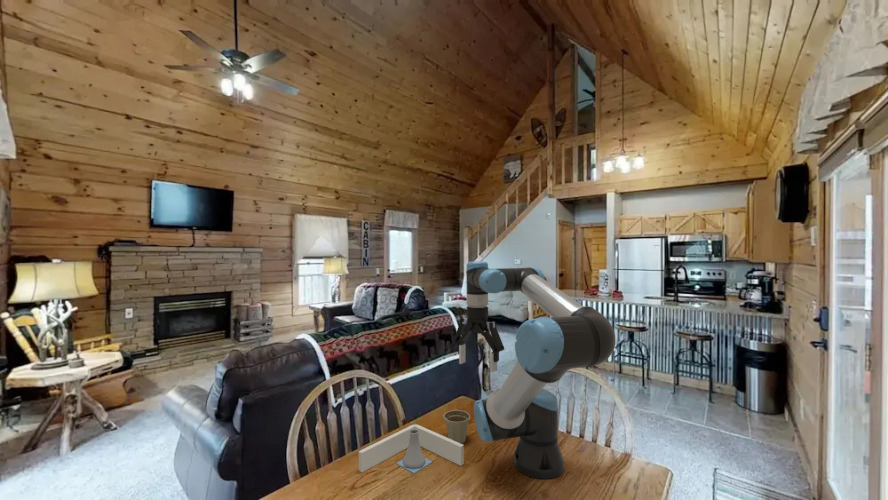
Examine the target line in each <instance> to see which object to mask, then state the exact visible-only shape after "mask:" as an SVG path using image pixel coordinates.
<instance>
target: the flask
mask: <svg viewBox="0 0 888 500" xmlns="http://www.w3.org/2000/svg"><path fill="white" fill-rule="evenodd" d="M409 433H410V441H409V445H408V448H406V452H405V454H404V458H403V459H404V460H403V459H402V460H403V463H404V466H405V467H409V468H418V467H422V466H423V465H424V464H425V462H426V461H425V458H426V457H425V456H424V453H423V450H422V447H421V446H420V444H419V438H418V433H419V430H418V429H411V430H410V431H409Z"/></svg>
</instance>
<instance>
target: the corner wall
mask: <svg viewBox="0 0 888 500" xmlns="http://www.w3.org/2000/svg"><path fill="white" fill-rule="evenodd" d="M411 429H418V430H419V433H418V438H419V444H420V447H421V448H423V449H425V450H428V451H429V452H432V453H433V454H436V455H438V456H440V457H442V458H444V459H446V460H448V461H450V462H452V463H454V464H455V465H458V466H463V465H464V463H465V461H464V459H465V456H464V455H465V453H464V448H465V445H464V443H461V444H460V443H458V442H456V441H454V440H451V439H449V438H448V436H445V435H442V434H441V433H440V434H439V433H438V432H435V431H433V430H430V429H428V428H426V427H424V426H422V425H420V424H417V423H413V424H412V425H409V426H407V427H405V428H403V429H401V430H399V431H397V432H395V433H393V434H391V435H389V436H387V437H385V438H382V439H380V440H379V441H376V442H375V443H372V444H370V445H369V446H367V447H364V448H362V449H361V450H358V471H359V472H360V473H363V472H365V471H367V470H369V469H371V468H373V467H374V466H377V465H379V464H381V463H382V462H384V461H386V460H388V459H389V458H391V457H393V456H395V455H397V454H398V453H400V452H402V451H404V450H405V449H406V450H407V448H408V445H409V441H410V433H409V431H410V430H411Z"/></svg>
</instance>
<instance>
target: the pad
mask: <svg viewBox="0 0 888 500" xmlns="http://www.w3.org/2000/svg"><path fill="white" fill-rule="evenodd" d="M424 458H425V461H426V462H425V464H424V465H423V466H422V467H418V468H409V467H405V466H404V463H403V460H404V458H403V459H401V460H400V461H397V462H396V465H398V466H399V467H401V468H402V469H405V470H406V471H408V472H409V473H411V474H413V475H415V474H416V473H418V472H420V471H421V470H422V469H424V468H426V467H428V466H429V465H431V464H432V463H433V461H432V460H430V459H429V458H427V457H424Z"/></svg>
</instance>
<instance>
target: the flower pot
mask: <svg viewBox="0 0 888 500" xmlns="http://www.w3.org/2000/svg"><path fill="white" fill-rule="evenodd" d="M443 419H444V422H445V426H446V431H447V438H449V439H451V440H454V441H456V442H458V443H460V444H464V443H466V442H465V441H466V439H467V435H468V434H467V433H468V432H467V431H468V426H469V425H468V424H469V421H470V419H471V415H470V414H469V412H467V411H465V410H460V409H459V410H458V409H453V410H448V411H447V412H444V414H443Z"/></svg>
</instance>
